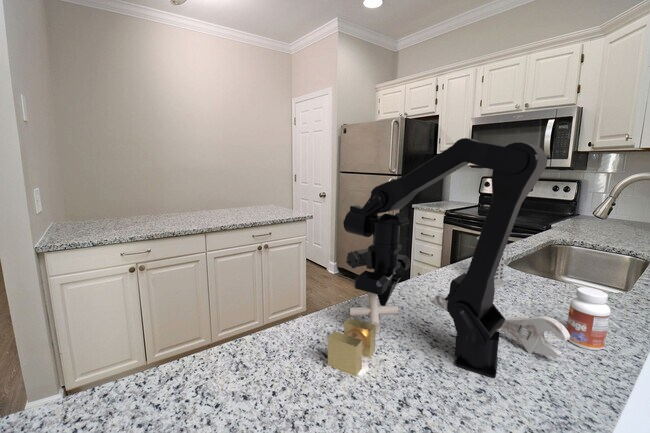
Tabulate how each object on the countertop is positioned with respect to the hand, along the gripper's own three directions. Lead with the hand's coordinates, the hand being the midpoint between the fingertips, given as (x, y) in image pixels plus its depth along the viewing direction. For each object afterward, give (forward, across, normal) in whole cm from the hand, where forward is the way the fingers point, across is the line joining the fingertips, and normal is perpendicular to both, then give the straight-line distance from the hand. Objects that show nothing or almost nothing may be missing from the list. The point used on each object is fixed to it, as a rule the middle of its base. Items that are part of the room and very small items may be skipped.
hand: (382, 305), depth 71 cm
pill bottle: (+3, -14, +38) cm, 41 cm away
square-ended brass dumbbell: (+3, +17, +1) cm, 17 cm away
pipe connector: (+3, +6, +1) cm, 7 cm away
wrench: (+4, -9, +21) cm, 23 cm away
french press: (+5, -41, +19) cm, 45 cm away
